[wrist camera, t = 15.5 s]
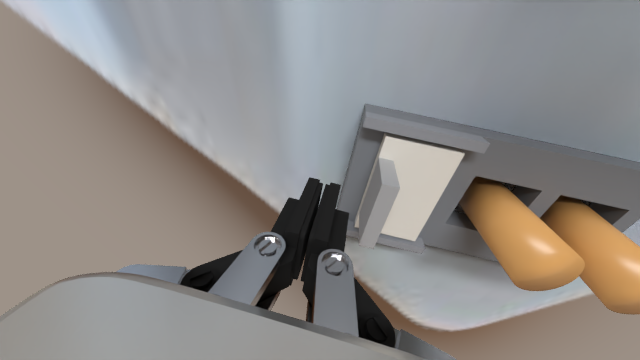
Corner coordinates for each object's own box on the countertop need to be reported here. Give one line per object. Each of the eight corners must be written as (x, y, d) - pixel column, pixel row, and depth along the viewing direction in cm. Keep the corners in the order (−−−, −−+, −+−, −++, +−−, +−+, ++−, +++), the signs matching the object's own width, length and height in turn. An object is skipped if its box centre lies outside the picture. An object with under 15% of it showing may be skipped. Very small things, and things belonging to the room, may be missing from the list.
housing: (651, 165, 19) (710, 191, 16) (549, 258, 26) (576, 290, 22) (365, 103, 20) (365, 116, 17) (336, 208, 27) (333, 232, 23)
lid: (460, 148, 18) (489, 182, 14) (413, 234, 23) (424, 277, 19) (384, 132, 18) (391, 160, 14) (354, 220, 24) (353, 259, 19)
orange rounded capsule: (506, 173, 21) (596, 250, 14) (496, 207, 23) (570, 290, 16) (459, 177, 22) (521, 252, 14) (454, 210, 24) (505, 291, 16)
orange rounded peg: (543, 187, 21) (640, 272, 14) (589, 196, 21) (711, 286, 14) (517, 219, 24) (588, 306, 16) (558, 227, 23) (649, 319, 16)
